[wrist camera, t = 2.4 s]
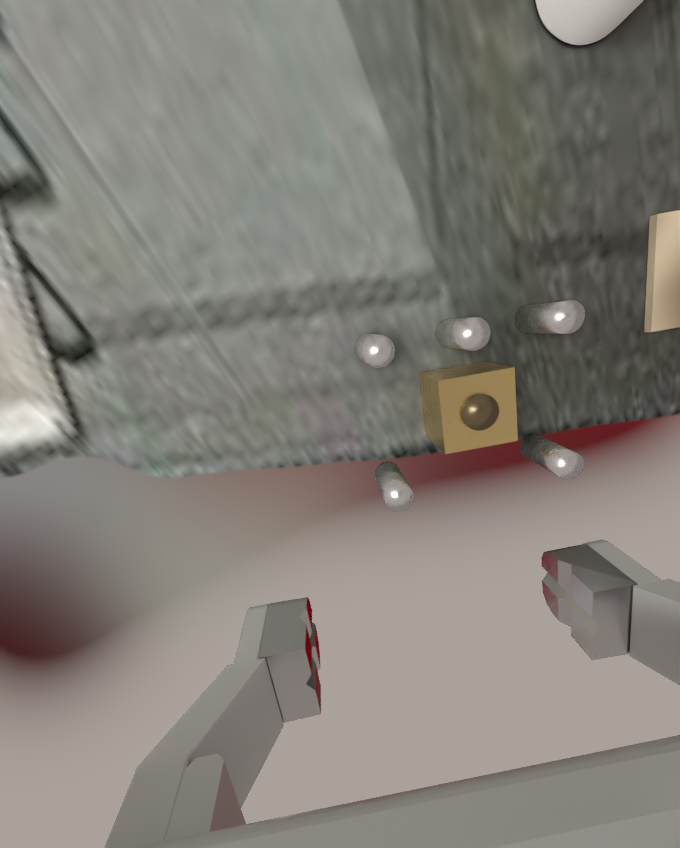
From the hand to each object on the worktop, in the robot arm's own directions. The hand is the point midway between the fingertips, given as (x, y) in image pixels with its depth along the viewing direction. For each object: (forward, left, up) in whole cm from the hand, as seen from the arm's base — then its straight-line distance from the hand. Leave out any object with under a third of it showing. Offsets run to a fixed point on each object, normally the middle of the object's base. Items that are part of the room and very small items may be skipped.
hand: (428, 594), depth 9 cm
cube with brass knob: (-8, 0, -19) cm, 21 cm away
